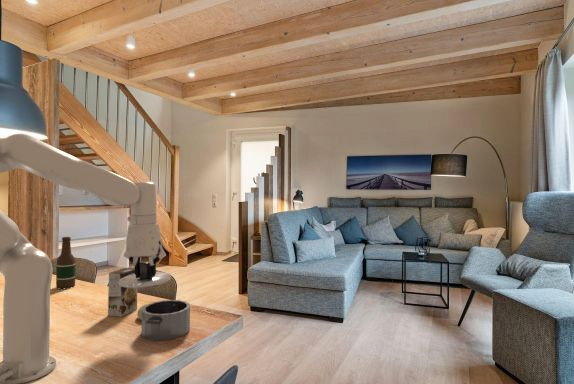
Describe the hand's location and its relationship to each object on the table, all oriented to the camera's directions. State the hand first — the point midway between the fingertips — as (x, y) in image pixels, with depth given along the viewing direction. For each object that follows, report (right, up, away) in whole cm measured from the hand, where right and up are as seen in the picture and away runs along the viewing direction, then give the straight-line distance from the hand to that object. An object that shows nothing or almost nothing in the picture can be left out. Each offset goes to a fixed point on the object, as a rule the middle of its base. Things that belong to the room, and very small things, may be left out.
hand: (145, 276), depth 110 cm
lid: (0, -2, 0) cm, 2 cm away
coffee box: (-18, -19, +21) cm, 34 cm away
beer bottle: (-61, -19, +54) cm, 84 cm away
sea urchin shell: (-5, -20, +16) cm, 26 cm away
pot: (+5, -19, +4) cm, 20 cm away
